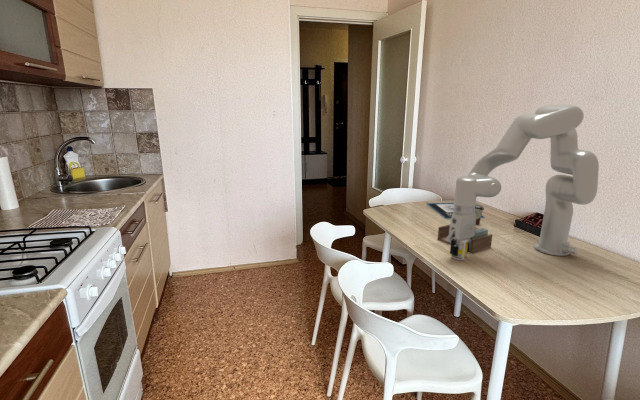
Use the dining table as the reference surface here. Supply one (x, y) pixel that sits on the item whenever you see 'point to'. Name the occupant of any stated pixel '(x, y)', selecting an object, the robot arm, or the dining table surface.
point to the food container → (478, 213)
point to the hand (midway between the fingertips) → (459, 252)
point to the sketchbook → (443, 209)
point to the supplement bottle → (461, 249)
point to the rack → (477, 242)
